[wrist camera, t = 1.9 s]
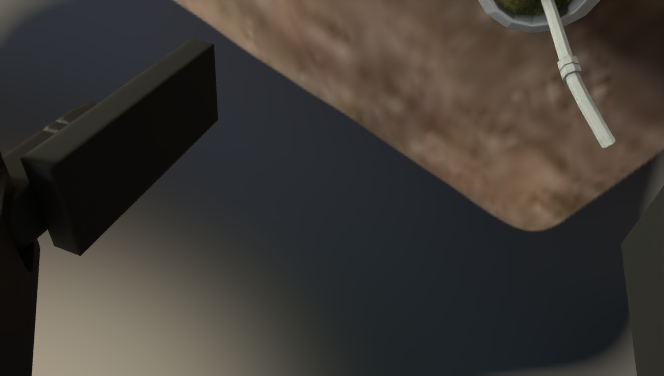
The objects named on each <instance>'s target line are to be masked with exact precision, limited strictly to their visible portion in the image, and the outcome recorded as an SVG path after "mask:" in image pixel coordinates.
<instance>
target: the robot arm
mask: <svg viewBox="0 0 664 376" xmlns="http://www.w3.org/2000/svg"><path fill="white" fill-rule="evenodd" d="M216 93H217V92H216V74H215V55H214V44H212V43H208V42H204V41H201V40H197V39H194V38H191V39H189V40H188V41H187V42H185V43H184V44H182V45H181V46H179V47H178V48H177V49H175V50H174V51H172V52H171V53H170V54H168V55H167V56H165V57H164V58H162V59H161V60H159V61H158V62H157V63H155V64H154V65H152V66H151V67H150V68H148V69H147V70H145V71H144V72H142V73H141V74H139V75H138V76H137V77H135V78H134V79H132V80H131V81H130V82H128V83H127V84H125V85H124V86H122V87H121V88H119V89H118V90H117V91H115V92H114V93H112V94H111V95H109V96H108V97H107V98H105V99H104V100H102V101H101V102H99V103H95V102H90V103H87V104H84V105H81V106H79V107H76V108H73V109H71V110H70V111H68V112H67V113H65V114H64V115H62V116H61V117H59V118H58V119H57V121H56V122H55V121H53V122H52V123H50V124H49V125H47V126H46V127H45V128H44V130H40V131H38V132H37V133H35V134H34V135H33V136H31V137H30V138H28V139H27V140H25V141H24V142H22V143H21V144H19V145H18V146H16V147H15V148H13V149H12V150H10V151H9V152H7V153H6V154H4V155H3V156H2V154H1V152H0V376H32V362H33V347H34V333H35V317H36V302H37V288H38V273H39V258H40V246H39V242H38V240H37V238H38V237H39V236H41V235H42V234H43V233H44V232H45V231H46V230H47V229H48V231H49V234H50V236H51V239H52V241H53V244H54V246H56V247H59V248H61V249H64V250H66V251H69V252H72V253H74V254H77V255H79V256H81V255H82V254H83V253H84V252H85V251H86V250H87V249H88V248H89V247H90V246H91V245H92V244H93V243H94V242H95V241H96V240H97V239H98V238H99V237H100V236H101V235H102V234H103V233H104V232H105V231H106V230H107V229H108V228H109V227H110V226H111V225H112V224H113V223H114V222H115V221H116V220H117V219H118V218H119V217H120V216H121V215H122V214H123V213H124V212H125V211H126V210H127V209H128V208H129V207H130V206H131V205H132V204H133V203H134V202H135V201H136V200H137V199H138V198H139V197H140V196H141V195H143V194H144V193H145V192H146V190H148V189H149V188H150V187H151V186H152V185H153V184H154V183H155V182H156V181H157V180H158V179H159V178H160V177H161V176H162V175H163V174H164V173H165V172H166V171H167V170H168V169H169V168H170V167H171V166H172V165H173V164H174V163H175V162H176V161H177V160H178V159H179V158H180V157H181V156H182V155H183V154H184V153H185V152H186V151H187V150H188V149H189V148H190V147H191V146H192V145H193V144H194V143H195V142H196V141H197V140H198V139H199V138H200V137H201V136H202V135H203V134H204V133H205V132H206V131H207V130H208V129H209V128H210V127H211V126H212V125H213V124H214V123H215V122H216V121H217V120H218V112H217V94H216ZM621 246H622V255H623V264H624V272H625V280H626V288H627V297H628V304H629V313H630V321H631V329H632V337H633V346H634V354H635V362H636V371H637V376H664V186H663V188H662V189H661V191H660V192H659V193H658V195H657V196H656V197H655V199H654V200H653V201H652V203H651V204H650V206H649V207H648V208H647V210H646V211H645V212H644V214H643V215H642V216H641V218H640V219H639V220H638V222H637V224H636V225H635V226H634V227H633V229H632V230H631V232H630V233H629V234H628V236H627V237H626V238H625V240H624V241H623V242H622V244H621Z"/></svg>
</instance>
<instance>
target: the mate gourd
mask: <svg viewBox="0 0 664 376" xmlns="http://www.w3.org/2000/svg"><path fill="white" fill-rule="evenodd" d="M478 1H479V2H480V4H481V6H482V8H483V9H484V11H485V13H486V14H488V15H489V16H490V17H492V18H493V19H495V20H496V21H497V22H499V23H500V24H502V25H503V26H504V27H506V28H510V29H514V30H519V31H523V32H528V33H537V32H544V31H551V34H552V37H553V41H554V44H555V47H556V51H557V54H558V57H559V61H558V63H557V64H558V68H559V71H560V74H561V77H562V80H563V82H564V83H567V84H568V86H569V88H570V90H571V92H572V94H573V96H574V98H575V100H576V102H577V104H578V106H579V108H580V110H581V111H582V113H583V115H584V117H585V118H586V120H587V122H588V124H589V125H590V127H591V129H592V131H593V133H594V134H595V136H596V138H597V140H598V141H599V143H600V145H601V146H602V148H605V147H608V146H610V145H611V144H613V143H614V142H615V139H614V137H613V135H612V134H611V132H610V130H609V128H608V127H607V125H606V123H605V121H604V120H603V118H602V116H601V114H600V113H599V111H598V109H597V107H596V106H595V104H594V102H593V100H592V99H591V97H590V95H589V93H588V91H587V89H586V87H585V85H584V83H583V81H582V79H581V77H582V76H583V75H582V70H581V68H580V65H579V63H578V60H577V57H576V56H573V55H572V52H571V49H570V46H569V43H568V40H567V37H566V34H565V31H564V28H563V27H564V26H566V25H568V24H570V23H572V22H574V21H576V20H578V19H580V18H582V17H584V16H585V15H586V14H587V13H588V12H589V11H590V10H591V9H592V8H593V7H594V6H595V5H596V4H597V3H598V2H599V1H600V0H478Z"/></svg>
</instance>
